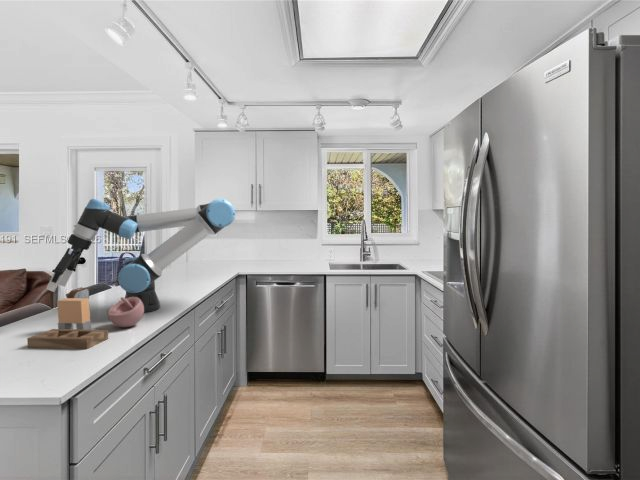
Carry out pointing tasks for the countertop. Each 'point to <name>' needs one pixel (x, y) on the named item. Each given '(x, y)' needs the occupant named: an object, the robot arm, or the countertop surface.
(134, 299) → the mortar and pestle
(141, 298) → the robot arm
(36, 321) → the countertop surface
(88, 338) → the wooden compartment tray
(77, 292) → the tin
